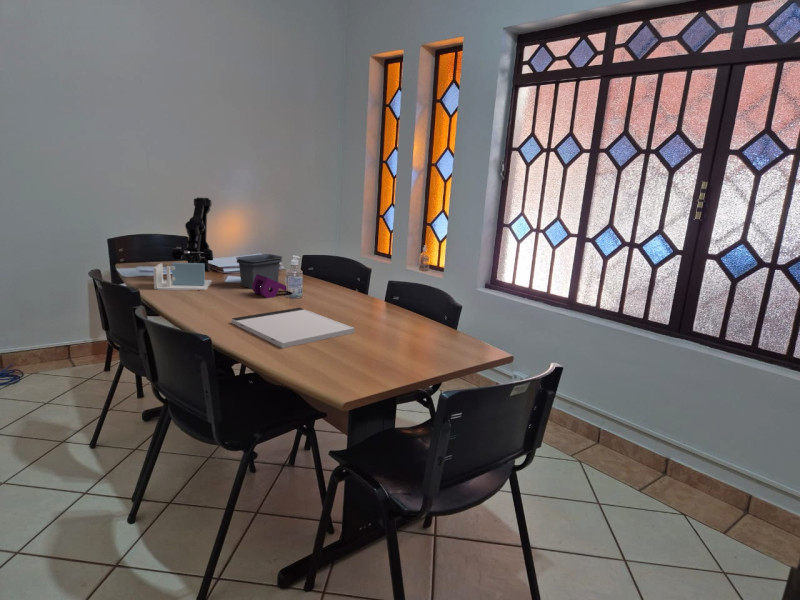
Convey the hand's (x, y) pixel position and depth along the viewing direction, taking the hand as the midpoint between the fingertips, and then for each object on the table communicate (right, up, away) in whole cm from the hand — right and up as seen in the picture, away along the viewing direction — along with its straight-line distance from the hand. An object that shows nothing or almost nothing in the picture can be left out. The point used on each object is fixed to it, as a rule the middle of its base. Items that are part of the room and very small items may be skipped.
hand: (190, 269), depth 253 cm
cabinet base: (-2, -8, -1) cm, 9 cm away
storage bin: (+30, -8, +11) cm, 32 cm away
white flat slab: (+60, -26, -55) cm, 85 cm away
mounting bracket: (+42, -13, -6) cm, 44 cm away
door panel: (+1, -8, -4) cm, 9 cm away
